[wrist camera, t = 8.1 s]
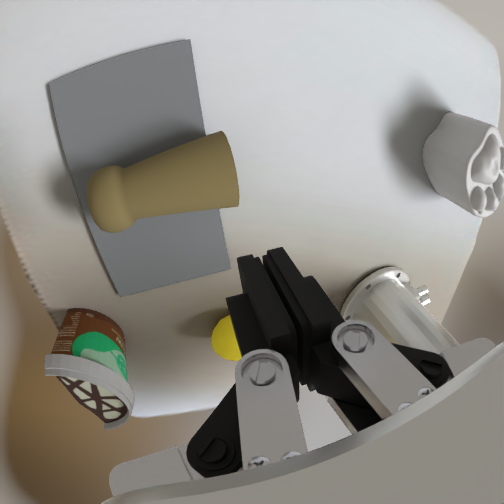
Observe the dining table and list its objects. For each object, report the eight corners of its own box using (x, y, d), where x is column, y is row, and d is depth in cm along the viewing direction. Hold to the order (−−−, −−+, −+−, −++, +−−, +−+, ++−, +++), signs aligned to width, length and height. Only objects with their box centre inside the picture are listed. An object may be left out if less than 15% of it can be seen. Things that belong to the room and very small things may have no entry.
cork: (217, 116, 20) (82, 153, 19) (238, 165, 18) (73, 210, 16) (221, 171, 26) (106, 202, 24) (239, 222, 23) (107, 257, 21)
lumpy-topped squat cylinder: (452, 102, 26) (505, 118, 19) (477, 166, 33) (518, 187, 26) (414, 153, 29) (469, 178, 22) (445, 212, 36) (486, 241, 29)
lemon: (225, 340, 36) (230, 375, 32) (197, 321, 33) (199, 358, 29) (270, 316, 35) (280, 351, 31) (245, 293, 32) (253, 330, 28)
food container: (149, 358, 34) (154, 426, 26) (108, 366, 33) (107, 431, 25) (108, 287, 27) (96, 363, 19) (61, 299, 26) (41, 371, 18)
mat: (189, 40, 18) (190, 39, 17) (229, 266, 30) (230, 268, 29) (50, 82, 16) (48, 82, 15) (120, 294, 28) (120, 297, 28)
